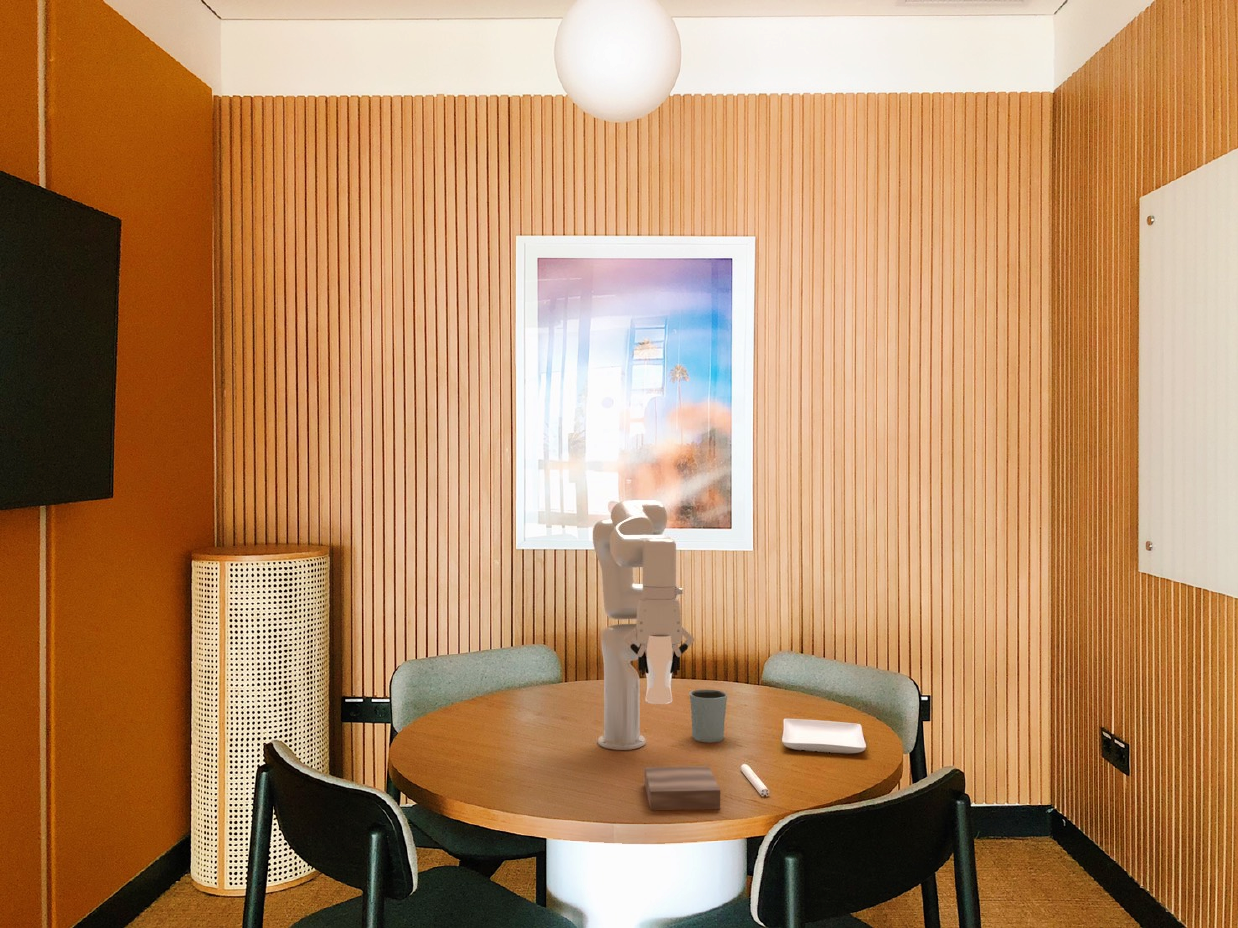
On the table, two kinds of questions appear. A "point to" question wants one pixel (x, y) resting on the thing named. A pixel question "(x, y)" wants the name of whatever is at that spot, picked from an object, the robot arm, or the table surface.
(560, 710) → the table surface
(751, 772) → the marker
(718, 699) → the grey green cup
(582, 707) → the table surface
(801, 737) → the salad plate
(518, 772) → the table surface
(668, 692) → the beer glass
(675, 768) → the walnut plinth
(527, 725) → the table surface
